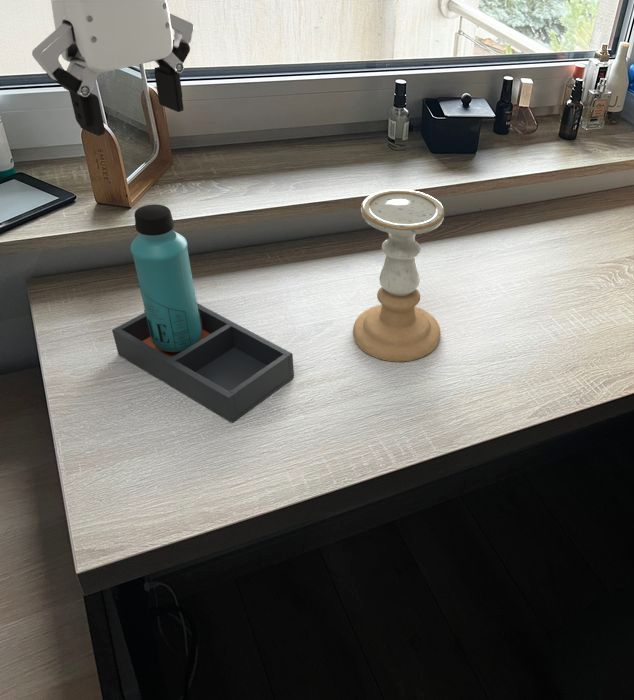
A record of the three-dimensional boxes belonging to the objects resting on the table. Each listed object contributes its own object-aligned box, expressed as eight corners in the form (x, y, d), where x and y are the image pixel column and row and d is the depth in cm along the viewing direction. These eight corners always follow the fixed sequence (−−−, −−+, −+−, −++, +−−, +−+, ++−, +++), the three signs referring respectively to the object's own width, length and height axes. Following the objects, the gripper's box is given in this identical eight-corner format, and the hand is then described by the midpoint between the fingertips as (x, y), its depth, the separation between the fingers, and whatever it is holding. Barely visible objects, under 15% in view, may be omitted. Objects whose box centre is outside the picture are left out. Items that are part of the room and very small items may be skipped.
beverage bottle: (212, 335, 97) (192, 200, 85) (192, 366, 92) (168, 227, 79) (164, 328, 97) (138, 192, 85) (142, 359, 92) (110, 219, 80)
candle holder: (445, 362, 99) (458, 232, 86) (354, 363, 97) (354, 231, 84) (434, 309, 108) (445, 186, 96) (351, 310, 106) (351, 183, 94)
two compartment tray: (232, 423, 86) (228, 398, 83) (118, 355, 93) (111, 329, 91) (294, 377, 93) (292, 353, 91) (184, 317, 101) (179, 293, 98)
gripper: (152, -79, 73) (176, 91, 84) (-20, -67, 61) (33, 130, 71) (204, -65, 70) (222, 109, 81) (35, -49, 58) (82, 153, 69)
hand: (134, 119), depth 76 cm, fingers open, 9 cm apart
